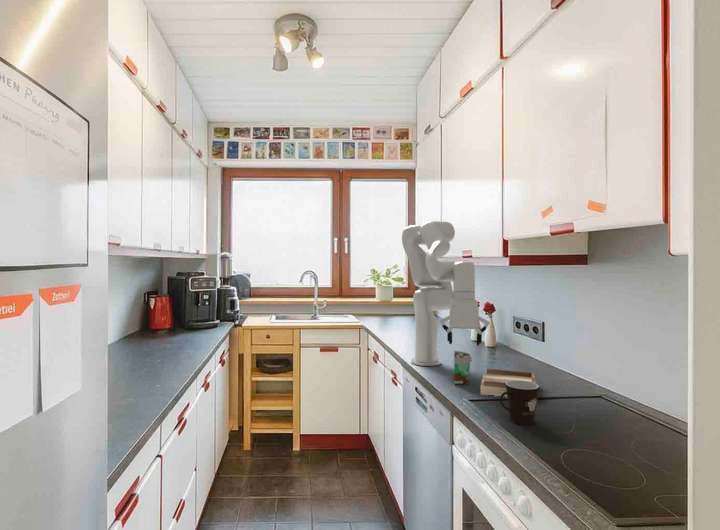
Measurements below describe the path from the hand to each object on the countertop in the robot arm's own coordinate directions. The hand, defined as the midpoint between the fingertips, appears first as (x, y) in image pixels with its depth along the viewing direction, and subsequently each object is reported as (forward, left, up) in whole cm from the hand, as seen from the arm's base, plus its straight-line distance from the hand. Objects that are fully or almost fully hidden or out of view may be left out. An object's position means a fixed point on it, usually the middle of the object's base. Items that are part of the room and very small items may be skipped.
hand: (464, 344), depth 161 cm
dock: (+3, +15, -14) cm, 21 cm away
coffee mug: (+33, +18, -14) cm, 40 cm away
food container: (-1, 0, -14) cm, 14 cm away
